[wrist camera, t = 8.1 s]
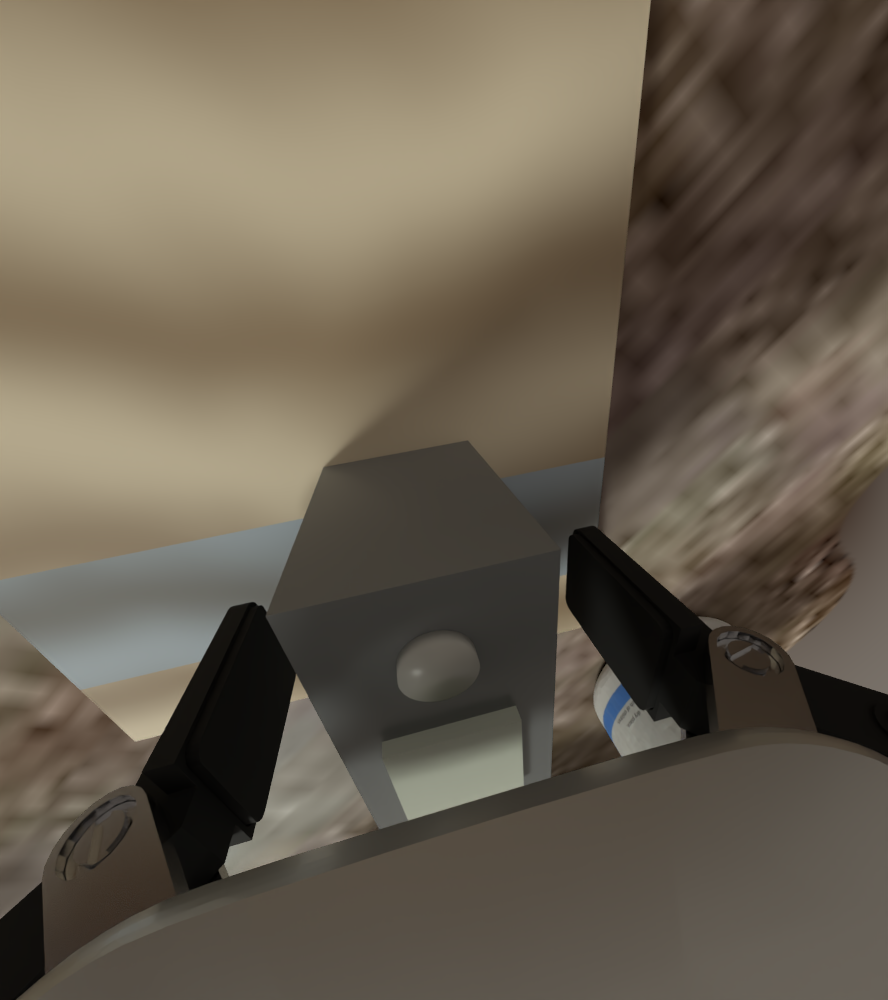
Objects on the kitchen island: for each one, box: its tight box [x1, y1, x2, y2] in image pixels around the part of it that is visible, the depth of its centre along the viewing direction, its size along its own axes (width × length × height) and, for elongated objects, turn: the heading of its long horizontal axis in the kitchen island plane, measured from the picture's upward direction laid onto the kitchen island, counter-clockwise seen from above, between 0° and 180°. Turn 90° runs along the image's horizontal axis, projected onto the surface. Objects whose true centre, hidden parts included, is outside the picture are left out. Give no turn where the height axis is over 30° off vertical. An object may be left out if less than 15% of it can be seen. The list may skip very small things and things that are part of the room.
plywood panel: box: [0, 0, 651, 742], centre depth 11 cm, size 20×20×1 cm
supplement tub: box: [594, 616, 731, 757], centre depth 14 cm, size 10×10×15 cm
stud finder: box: [266, 440, 561, 829], centre depth 9 cm, size 8×4×6 cm, turn 7°
